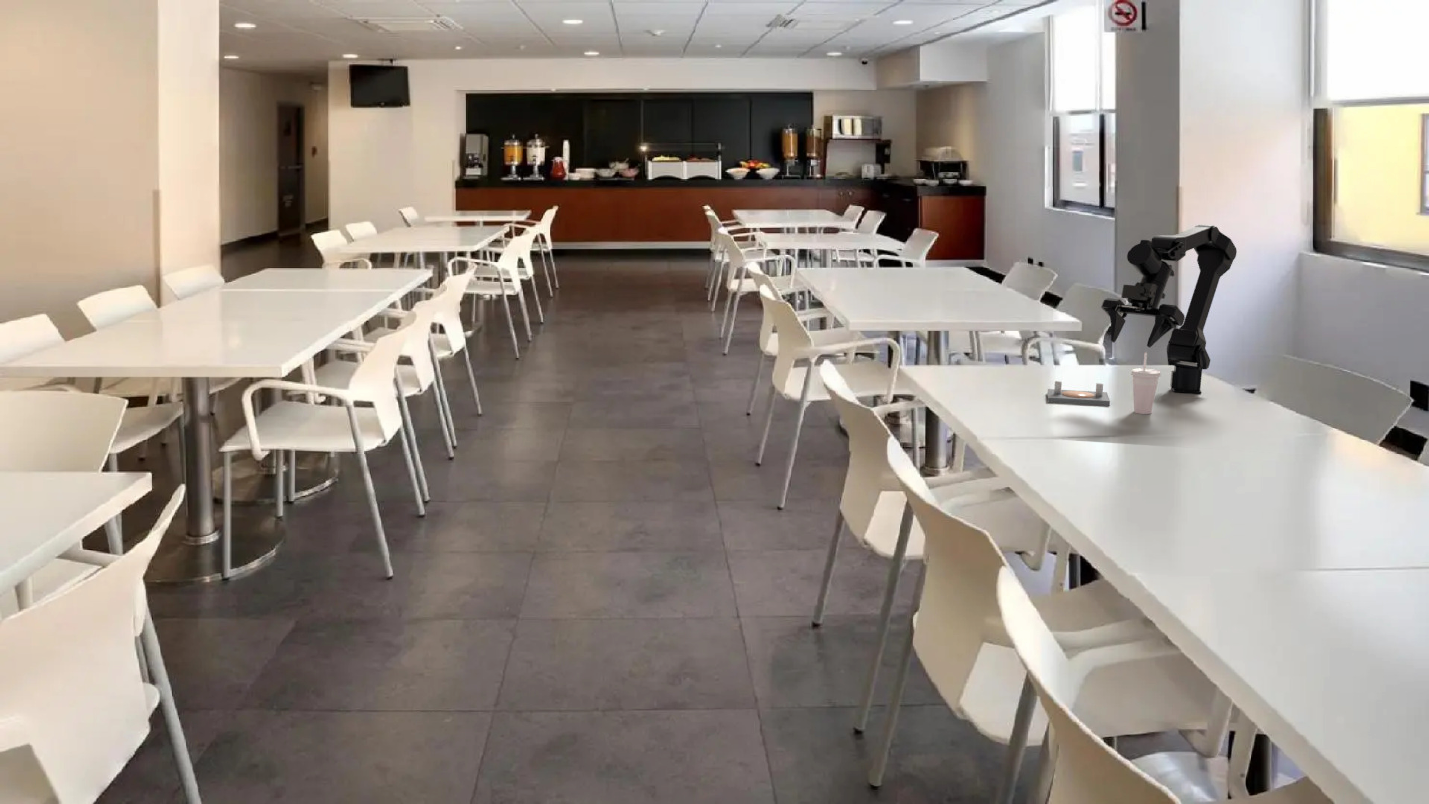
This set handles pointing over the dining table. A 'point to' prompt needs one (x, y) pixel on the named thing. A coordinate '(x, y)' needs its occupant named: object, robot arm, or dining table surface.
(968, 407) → the dining table surface
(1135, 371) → the smoothie
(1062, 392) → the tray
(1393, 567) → the dining table surface
